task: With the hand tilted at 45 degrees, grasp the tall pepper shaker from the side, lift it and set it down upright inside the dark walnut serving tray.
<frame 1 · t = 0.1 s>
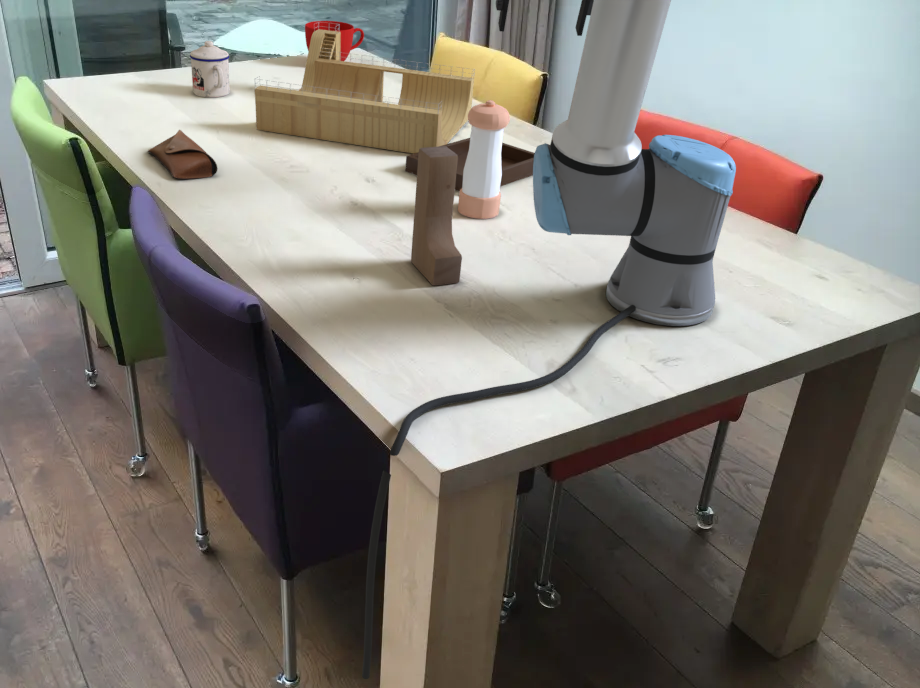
hand: (539, 29, 157), 28 cm above the table, tool tilted 20°, fingers open, 13 cm apart
skate ramp: (371, 122, 202), on the table
wooden block: (434, 273, 137), on the table
tray: (474, 171, 177), on the table
ceramic cup: (335, 65, 245), on the table
pepper shaker: (478, 212, 160), on the table
sunglasses case: (181, 164, 173), on the table
teacup with lid: (213, 95, 214), on the table
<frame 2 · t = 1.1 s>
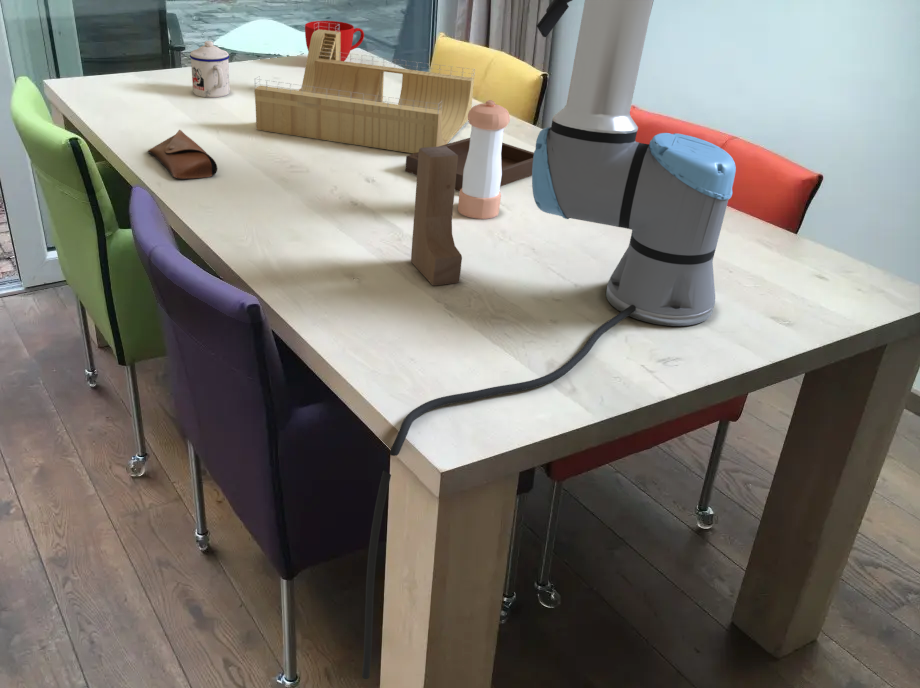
hand: (569, 40, 150), 28 cm above the table, tool tilted 45°, fingers open, 13 cm apart
nothing on the table moved.
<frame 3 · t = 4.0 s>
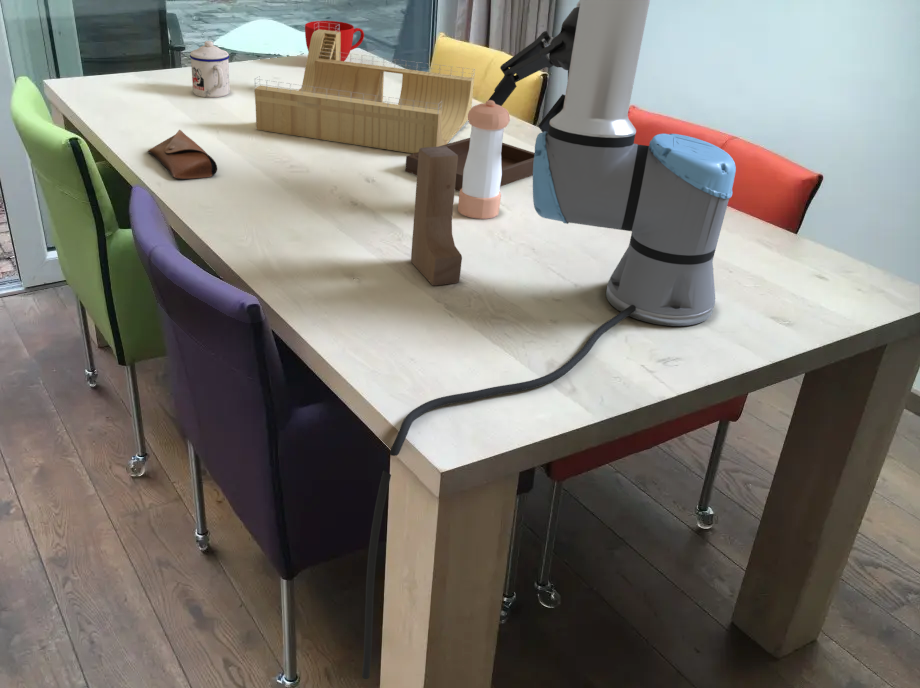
hand: (515, 120, 154), 15 cm above the table, tool tilted 45°, fingers open, 13 cm apart
nothing on the table moved.
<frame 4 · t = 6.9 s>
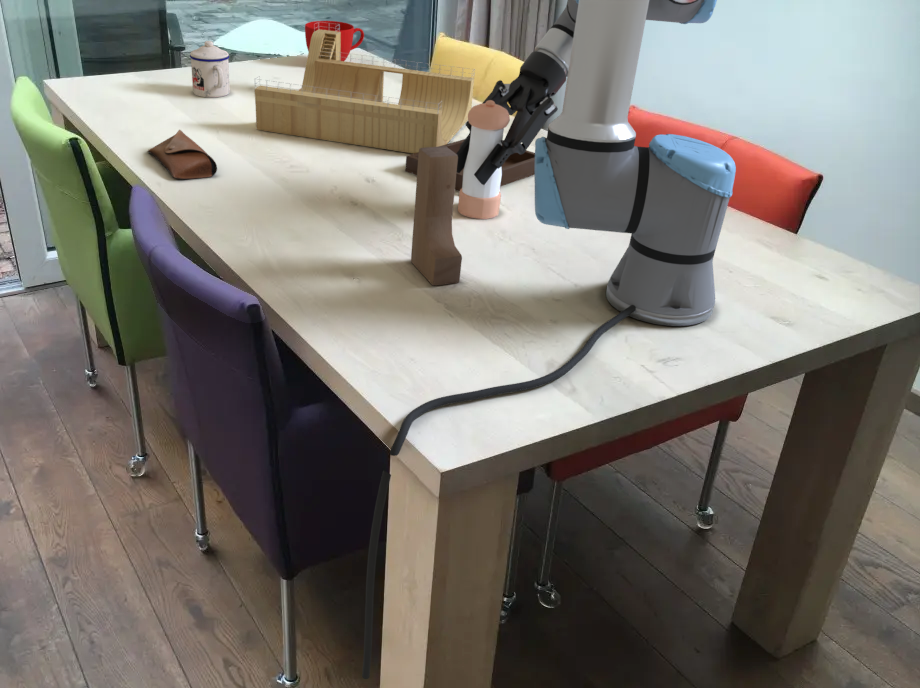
hand: (466, 173, 154), 7 cm above the table, tool tilted 45°, fingers closed on pepper shaker, 6 cm apart
pepper shaker: (478, 212, 160), on the table, touching gripper
everything else where it was.
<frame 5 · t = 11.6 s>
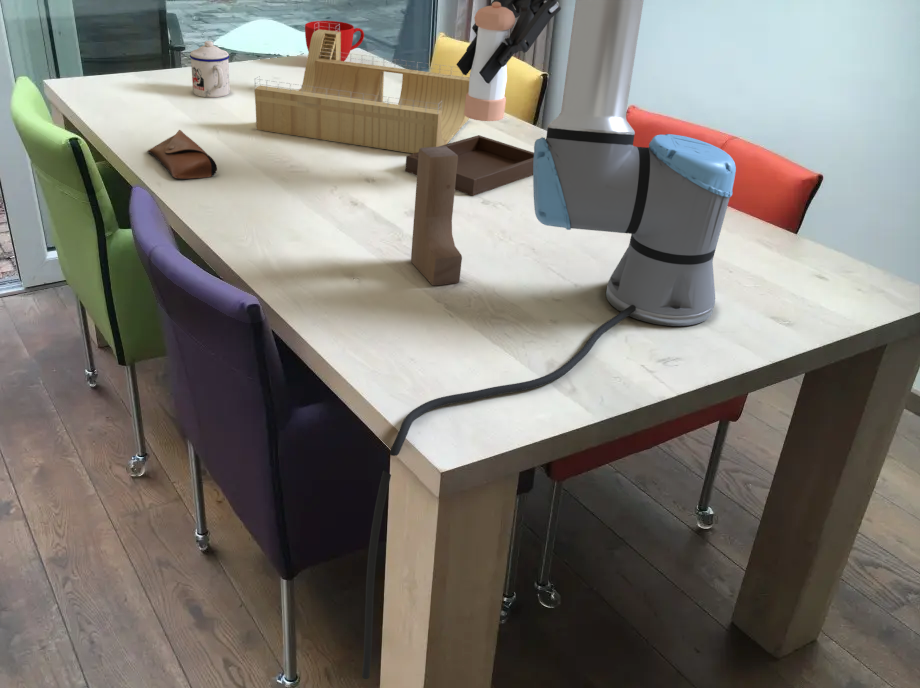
hand: (472, 73, 158), 21 cm above the table, tool tilted 45°, fingers closed on pepper shaker, 5 cm apart
pepper shaker: (483, 116, 164), point 13 cm above the table, touching gripper
everything else where it was.
when the fingers open (8 cm above the table, at t = 16.1 s): pepper shaker stays where it is, resting on tray.
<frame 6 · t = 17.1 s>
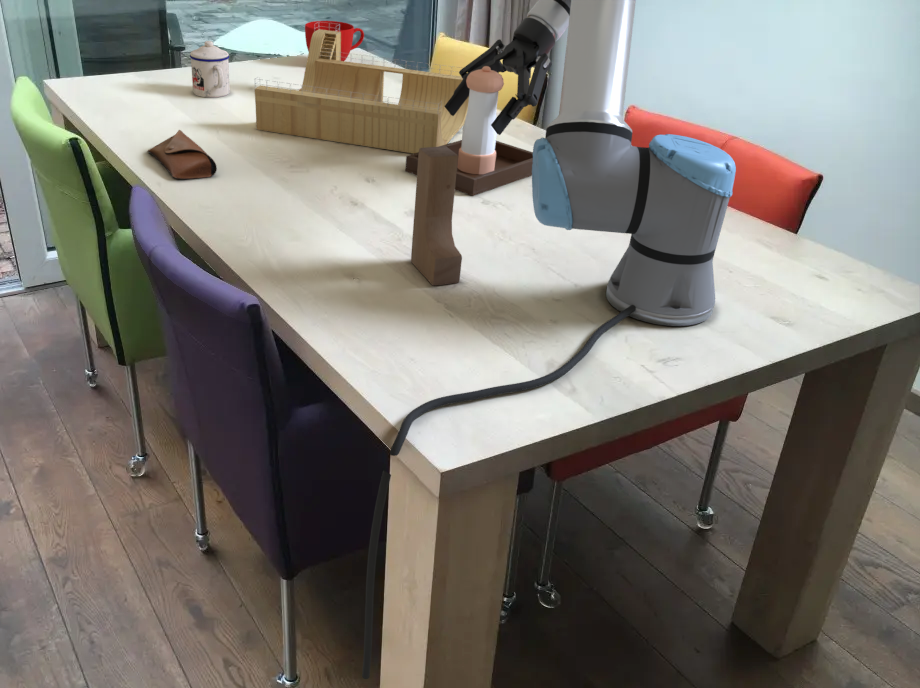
hand: (471, 120, 170), 10 cm above the table, tool tilted 45°, fingers open, 13 cm apart
pepper shaker: (475, 169, 177), resting on tray
everything else where it was.
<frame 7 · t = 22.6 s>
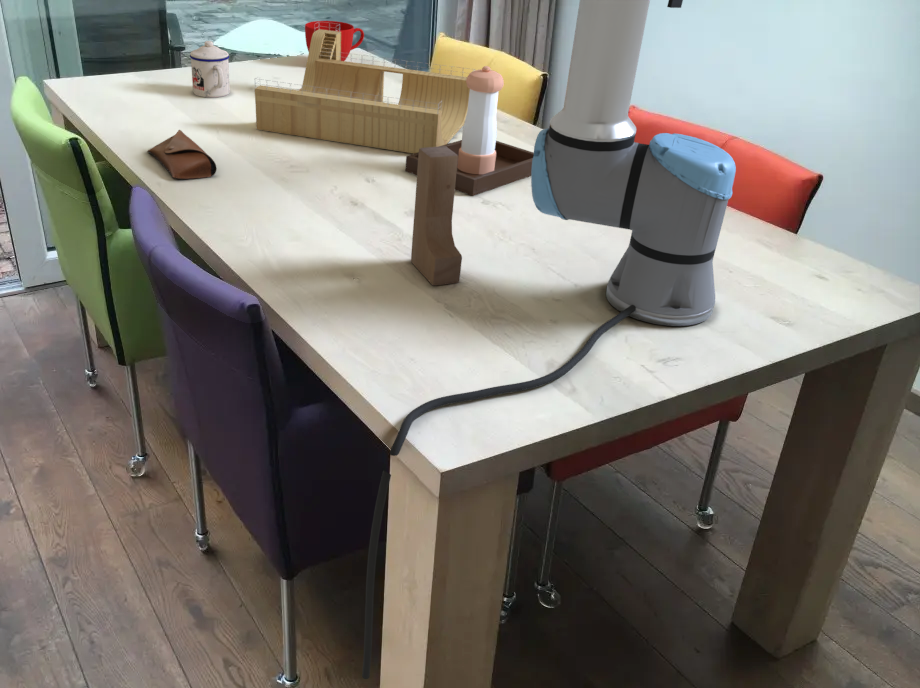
hand: (641, 0, 154), 33 cm above the table, tool pointing down, fingers open, 13 cm apart
nothing on the table moved.
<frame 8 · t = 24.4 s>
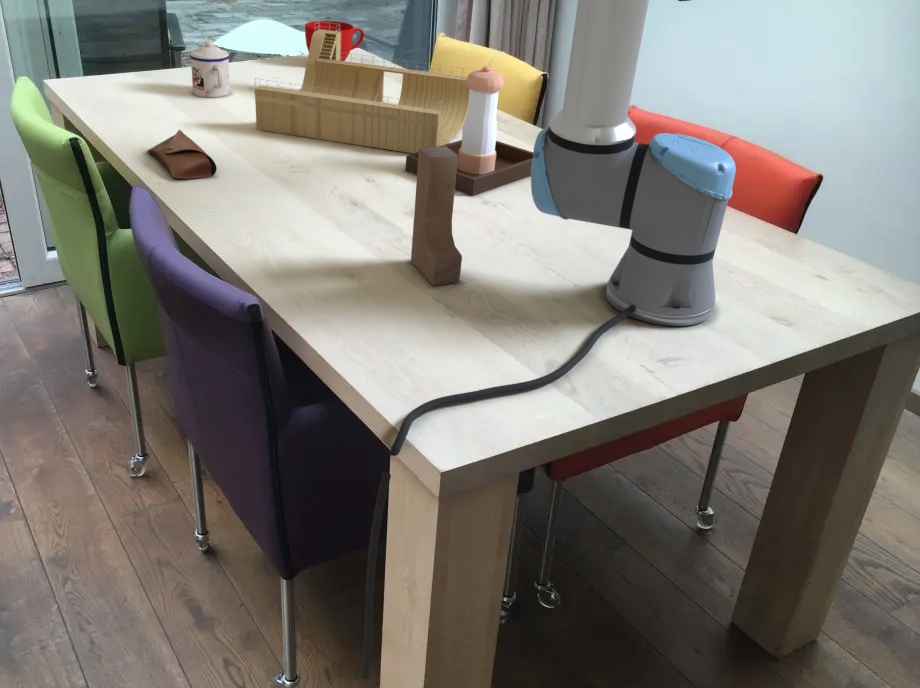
nothing on the table moved.
at the end: pepper shaker inside the target area in the tray (0.1 cm from its centre), point 0.4 cm above the tray's base; pepper shaker tilted 0°; the gripper is holding nothing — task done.
